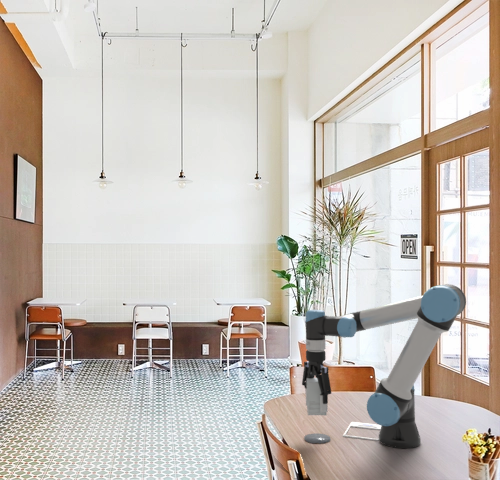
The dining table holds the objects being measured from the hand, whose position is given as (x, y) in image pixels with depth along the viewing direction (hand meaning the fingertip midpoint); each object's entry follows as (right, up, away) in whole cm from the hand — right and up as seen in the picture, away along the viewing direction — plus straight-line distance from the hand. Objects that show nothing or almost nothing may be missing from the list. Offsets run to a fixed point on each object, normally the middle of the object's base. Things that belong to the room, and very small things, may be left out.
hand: (316, 408), depth 197 cm
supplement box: (0, -2, 0) cm, 2 cm away
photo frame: (+21, -12, +7) cm, 25 cm away
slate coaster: (0, -12, -1) cm, 12 cm away
